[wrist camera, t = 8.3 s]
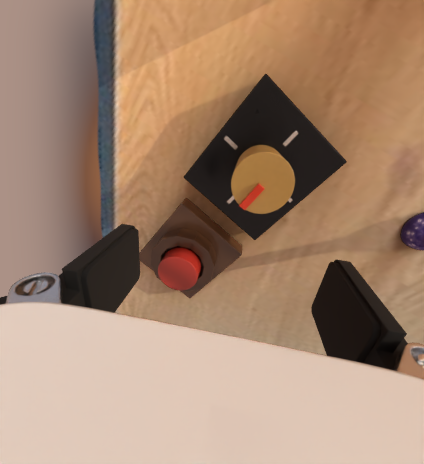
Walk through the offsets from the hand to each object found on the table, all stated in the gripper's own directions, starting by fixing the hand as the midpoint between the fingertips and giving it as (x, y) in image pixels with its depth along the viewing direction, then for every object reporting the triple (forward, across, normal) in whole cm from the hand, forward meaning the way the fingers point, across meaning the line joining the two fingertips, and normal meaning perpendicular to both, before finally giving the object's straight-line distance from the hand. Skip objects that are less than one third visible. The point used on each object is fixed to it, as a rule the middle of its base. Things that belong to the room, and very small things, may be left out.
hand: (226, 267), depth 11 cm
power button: (+11, +5, +8) cm, 15 cm away
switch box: (+15, +5, +8) cm, 18 cm away
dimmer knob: (+12, -2, -3) cm, 13 cm away
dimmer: (+15, -2, -3) cm, 15 cm away
